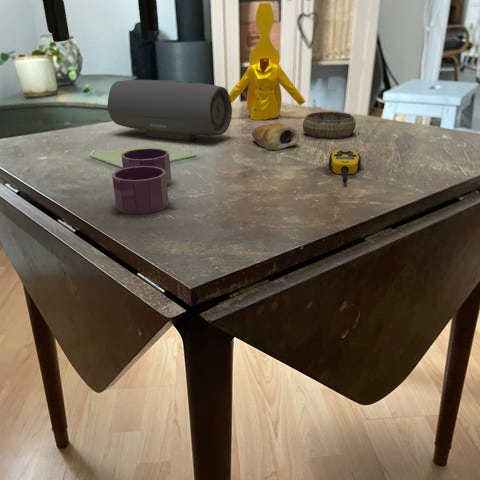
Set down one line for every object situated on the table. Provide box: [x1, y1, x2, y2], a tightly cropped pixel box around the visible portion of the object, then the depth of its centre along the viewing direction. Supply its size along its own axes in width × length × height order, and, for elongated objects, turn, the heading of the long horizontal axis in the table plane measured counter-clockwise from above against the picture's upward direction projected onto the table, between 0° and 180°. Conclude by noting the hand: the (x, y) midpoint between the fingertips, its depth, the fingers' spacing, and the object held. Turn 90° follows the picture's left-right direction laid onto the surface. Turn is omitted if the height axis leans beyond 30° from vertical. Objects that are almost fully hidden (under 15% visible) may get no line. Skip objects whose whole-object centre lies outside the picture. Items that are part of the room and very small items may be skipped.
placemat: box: [88, 141, 197, 169], centre depth 91 cm, size 13×13×1 cm
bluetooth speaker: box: [107, 79, 233, 141], centre depth 102 cm, size 23×9×10 cm, turn 62°
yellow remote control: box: [328, 149, 362, 183], centre depth 81 cm, size 5×2×15 cm
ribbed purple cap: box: [121, 148, 172, 187], centre depth 77 cm, size 7×7×4 cm
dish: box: [111, 166, 169, 215], centre depth 69 cm, size 7×7×4 cm
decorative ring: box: [302, 111, 357, 139], centre depth 104 cm, size 10×3×10 cm
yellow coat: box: [228, 2, 306, 121], centre depth 114 cm, size 18×8×22 cm, turn 88°
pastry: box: [251, 122, 300, 151], centre depth 97 cm, size 9×7×4 cm
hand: (105, 40), depth 58 cm, fingers open, 9 cm apart
